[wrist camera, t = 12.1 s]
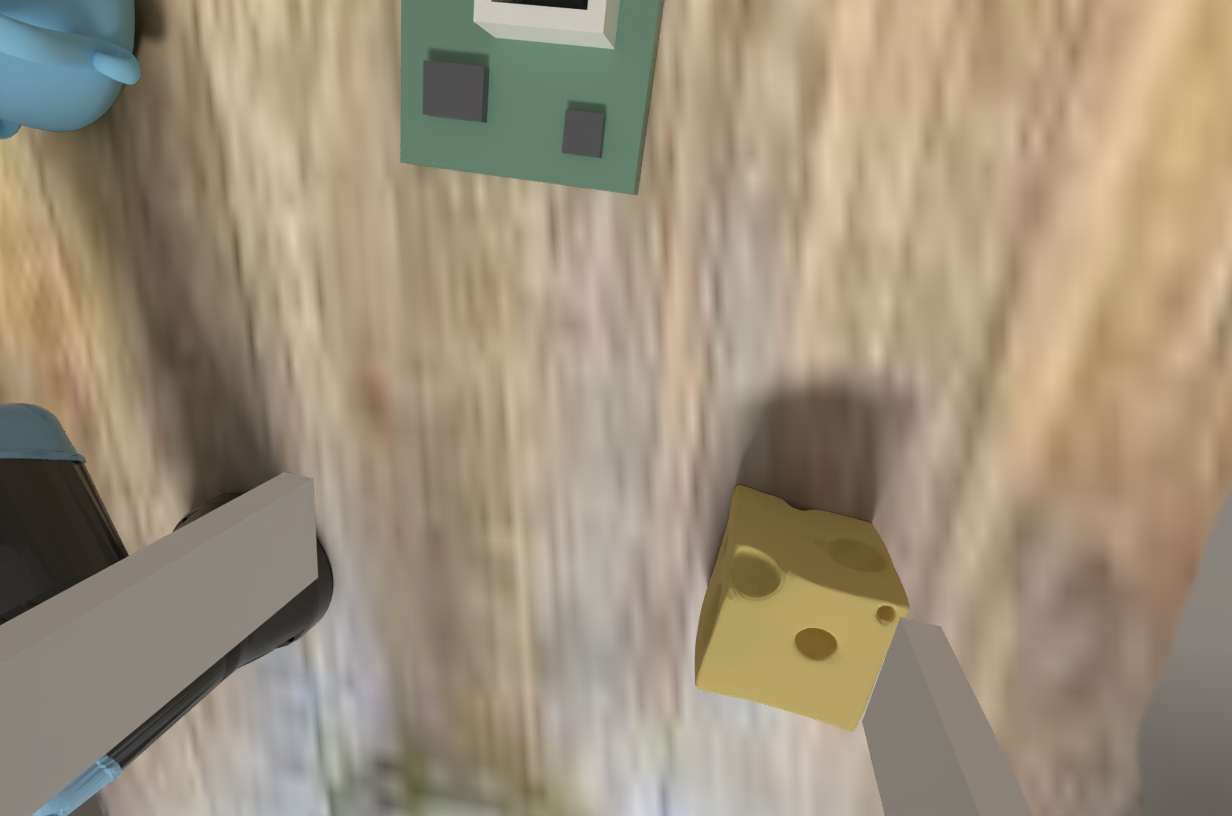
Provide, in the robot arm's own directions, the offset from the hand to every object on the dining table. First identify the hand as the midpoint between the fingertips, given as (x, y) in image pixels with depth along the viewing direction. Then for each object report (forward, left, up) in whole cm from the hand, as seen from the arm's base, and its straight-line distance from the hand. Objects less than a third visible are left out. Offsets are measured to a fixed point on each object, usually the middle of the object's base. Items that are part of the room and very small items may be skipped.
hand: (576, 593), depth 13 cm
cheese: (+10, -15, -29) cm, 34 cm away
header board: (-13, +18, -29) cm, 36 cm away
